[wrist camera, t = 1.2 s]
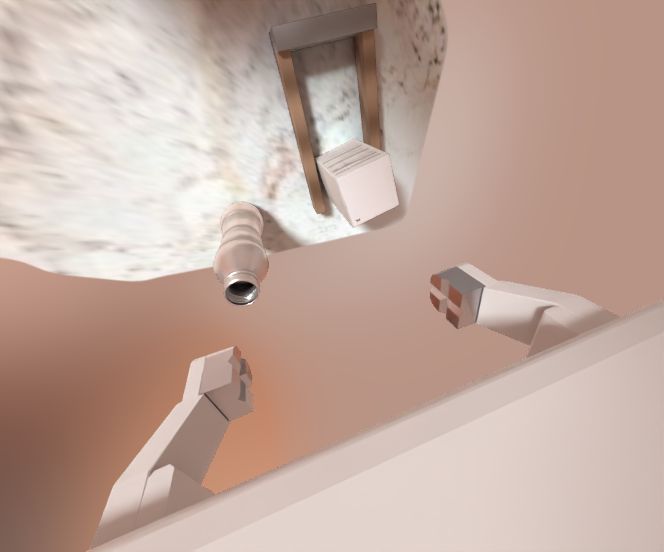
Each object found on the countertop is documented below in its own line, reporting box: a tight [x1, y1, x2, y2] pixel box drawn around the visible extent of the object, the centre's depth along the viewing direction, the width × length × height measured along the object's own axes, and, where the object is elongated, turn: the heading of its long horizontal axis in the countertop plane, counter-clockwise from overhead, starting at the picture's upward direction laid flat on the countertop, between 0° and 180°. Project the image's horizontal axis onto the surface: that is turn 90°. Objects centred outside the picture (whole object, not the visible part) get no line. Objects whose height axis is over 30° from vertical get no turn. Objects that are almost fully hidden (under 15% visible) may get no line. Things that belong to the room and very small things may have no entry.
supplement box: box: [314, 139, 399, 228], centre depth 36 cm, size 7×7×13 cm
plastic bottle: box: [213, 202, 269, 306], centre depth 34 cm, size 6×7×20 cm
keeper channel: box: [269, 3, 381, 214], centre depth 35 cm, size 22×12×4 cm, turn 11°
